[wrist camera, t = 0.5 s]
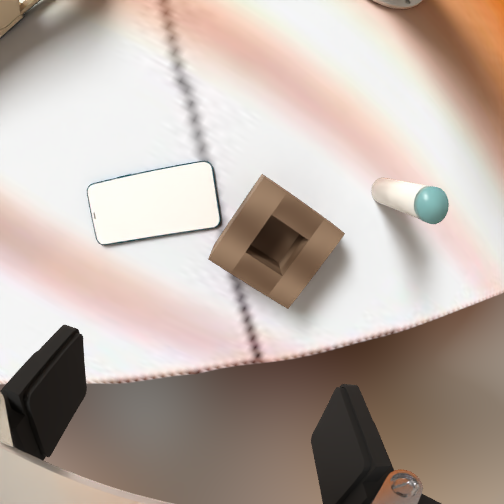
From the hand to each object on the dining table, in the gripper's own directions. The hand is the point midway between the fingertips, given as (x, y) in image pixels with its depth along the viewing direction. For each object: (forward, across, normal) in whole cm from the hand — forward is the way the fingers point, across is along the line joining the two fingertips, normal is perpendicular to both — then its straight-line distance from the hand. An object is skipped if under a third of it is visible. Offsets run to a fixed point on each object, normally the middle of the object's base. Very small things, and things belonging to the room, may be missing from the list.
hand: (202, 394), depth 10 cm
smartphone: (+29, +10, -1) cm, 31 cm away
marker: (+28, -16, -8) cm, 34 cm away
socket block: (+28, -4, 0) cm, 28 cm away
